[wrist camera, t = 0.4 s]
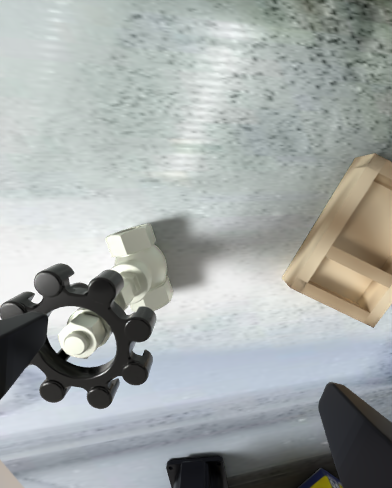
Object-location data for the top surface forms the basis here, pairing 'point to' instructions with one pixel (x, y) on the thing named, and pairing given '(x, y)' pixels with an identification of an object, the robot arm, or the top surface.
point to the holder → (351, 245)
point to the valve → (100, 317)
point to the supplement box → (321, 480)
